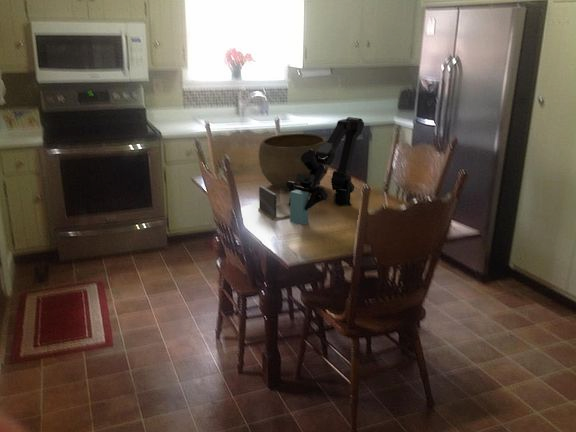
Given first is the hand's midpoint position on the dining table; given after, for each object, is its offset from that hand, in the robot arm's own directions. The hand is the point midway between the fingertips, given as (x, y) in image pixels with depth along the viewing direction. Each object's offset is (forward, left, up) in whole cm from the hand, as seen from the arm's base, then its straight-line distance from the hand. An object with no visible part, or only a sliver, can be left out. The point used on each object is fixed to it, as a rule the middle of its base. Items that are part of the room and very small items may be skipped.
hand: (297, 207), depth 225 cm
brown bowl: (-9, -52, -7) cm, 54 cm away
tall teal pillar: (-1, -1, -7) cm, 7 cm away
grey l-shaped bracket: (+4, -14, -7) cm, 16 cm away
